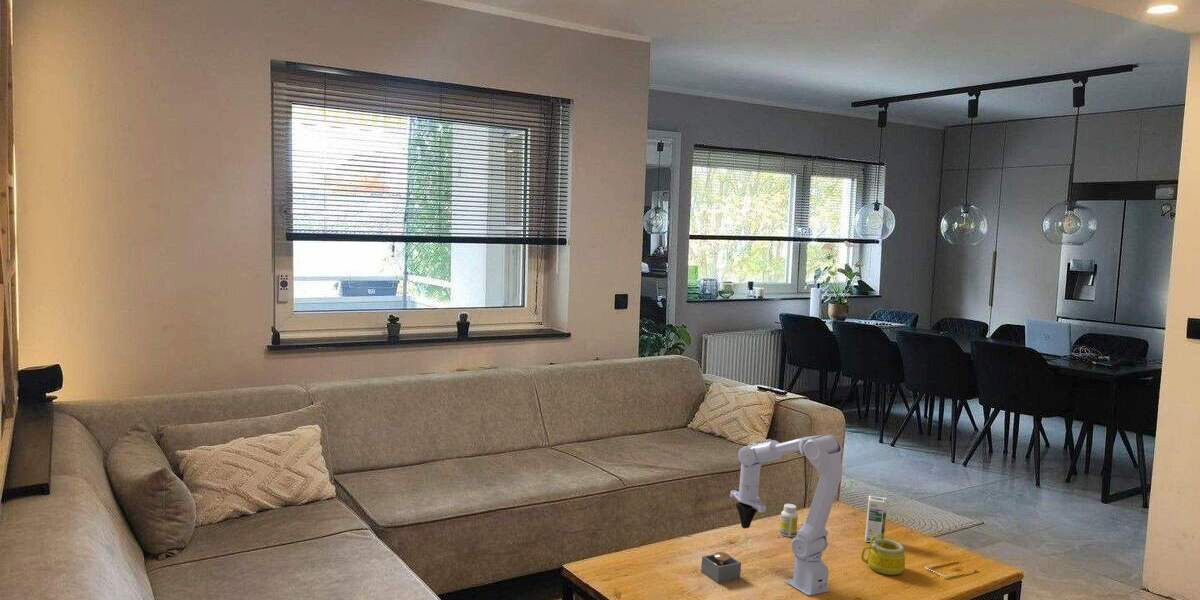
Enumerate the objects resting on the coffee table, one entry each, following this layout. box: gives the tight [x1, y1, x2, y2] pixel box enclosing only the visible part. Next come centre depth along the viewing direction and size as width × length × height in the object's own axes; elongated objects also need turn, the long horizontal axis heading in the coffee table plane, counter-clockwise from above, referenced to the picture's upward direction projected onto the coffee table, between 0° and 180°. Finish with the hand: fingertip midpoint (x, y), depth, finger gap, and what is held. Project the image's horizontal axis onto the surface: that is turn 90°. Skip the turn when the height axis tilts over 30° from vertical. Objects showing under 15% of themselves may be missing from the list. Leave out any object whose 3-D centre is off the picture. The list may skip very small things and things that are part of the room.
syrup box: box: [864, 495, 888, 543], centre depth 278 cm, size 6×6×14 cm
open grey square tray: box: [700, 551, 742, 584], centre depth 245 cm, size 8×8×5 cm
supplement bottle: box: [779, 503, 799, 538], centre depth 280 cm, size 5×5×10 cm
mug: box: [860, 529, 906, 576], centre depth 256 cm, size 13×11×12 cm
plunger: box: [713, 551, 731, 566], centre depth 245 cm, size 6×6×5 cm
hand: (745, 527), depth 257 cm, fingers closed
